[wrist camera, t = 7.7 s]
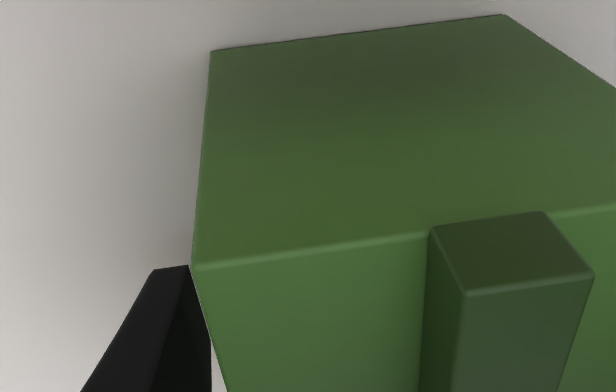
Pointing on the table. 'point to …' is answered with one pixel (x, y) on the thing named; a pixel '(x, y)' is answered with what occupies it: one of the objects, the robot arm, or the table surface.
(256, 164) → the green block
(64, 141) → the table surface
